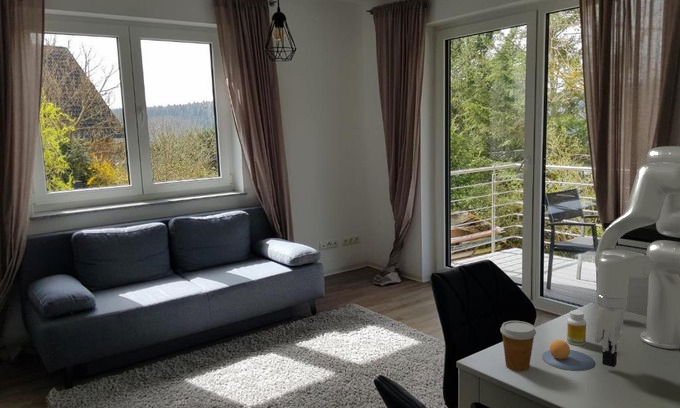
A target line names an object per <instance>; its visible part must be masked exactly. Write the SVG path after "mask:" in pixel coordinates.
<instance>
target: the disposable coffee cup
mask: <svg viewBox="0 0 680 408" xmlns="http://www.w3.org/2000/svg"><path fill="white" fill-rule="evenodd" d="M499 329H500V333H501V336H502V344H503V351H504V352H503V353H504V361H505V362H504V363H505V367H506V368H507V369H508V370H511V371H512V372H513V371H514V372H526V371H528V370H529V369H530V364H531V359H532V354H533V353H532V352H533V346H534V345H533V344H534V339H535V335H536V334H537V331H536V329H535V326H534V325H533V324H531V323H529V322H526V321H522V320H521V321H520V320H508V321H505V322H503V323H502V324H501V327H500V328H499Z"/></svg>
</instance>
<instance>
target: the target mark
mask: <svg viewBox="0 0 680 408" xmlns="http://www.w3.org/2000/svg"><path fill="white" fill-rule="evenodd" d="M541 359H542V360H543V361H544V362H545V363H546V364H547V365H549V366H551V367H554V368H557V369H560V370H564V371H573V372H574V371H575V372H577V371H578V372H579V371H587V370H590V369H592V368H593V367H594V366H595V364H596V363H595V360H594V358H592V356H590V355H588V354H586V353H584V352H581V351H578V350H574V349H570V354H569V356H568V357H567V358H565V359H561V360H560V359H556V358H555V357H553V356H552V355H551V353H550V349H549V350H546V351H544V352H543V353H542V356H541Z"/></svg>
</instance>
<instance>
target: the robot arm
mask: <svg viewBox="0 0 680 408" xmlns="http://www.w3.org/2000/svg"><path fill="white" fill-rule="evenodd" d="M654 224H655V226H656V227H655V228H656V231H657V232H658V233H659V234H661V235H663V236H667V237H674V238H680V146H674V145H673V146H672V145H670V146H669V145H668V146H658V147H654V148H653V147H652V148H651V149H650V150H648V152H647V153H646V163H645V164H642V165H641V166H640V167H639V168H638V169H637V171H636V175H635V177H634V181H633V185H632V187H631V191H630V194H629V198H628V202H627V205H626V208H625V211H624V213H623V214H622V215H620V216H619V217H617V218H616V219H615V220H614V221H612V222H611V223H610V224H609V225H608V226H607V227H606V228H605V230H604V231H603V232H602V234H601V236H600V238H599V242H598V244H597V249H596V251H595V256H594V257H595V258H594V263H595V268H596V269H597V273H596V274H597V275H596V276H597V277H596V278H597V279H596V301H595V302H596V304H595V305H596V306H597V307H598V310H597V315H596V316H597V317H596V324H595V327H596V328H595V338H594V340H595V341H594V342H595V343H597V344H598V343H601V341H602V349H601V350H602V362H601V364H602V365H604V366H607V367H611V368H615V367H616V366H617V358H618V357H617V356H618V342H619V341H620V340H621V338H622V336H623V333H624V332H623V331H624V312H625V310H627V309H628V302H629V301H628V299H629V282H638V281H643V280H645V279H647V278H648V286H647V287H648V290H647V291H648V292H647V307H646V308H647V309H646V330H644V331H642V332H641V333H640V336H639V337H640V340H641V341H642V342H644V343H645V344H648V345H650V346H653V347H656V348H660V349H669V350H680V241H675V240H674V241H673V240H665V239H663V240H660V239H659V240H655V241H653V242H651V243H650V244H649V245H648V246H647V249H646V253H643V252H642V253H641V252H636V251H630V250H626V249H618V248H615V247H616V245H617V243H618V241H619V240H620V239H621V237H623V236H624V235H625V234H626V233H627V234H628V233H629V232H631V231H634V230H636V229H639V228H644V227H647V226H650V225H654Z"/></svg>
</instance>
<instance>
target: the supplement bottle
mask: <svg viewBox="0 0 680 408" xmlns="http://www.w3.org/2000/svg"><path fill="white" fill-rule="evenodd" d="M584 316H585V313H584V312H583V311H580V310H570V312H569V317H568V318H567V321H566V343H567V344H570V345H573V346H583V345H586V339H587V338H586V337H587V336H586V335H587V321H586V319H584Z"/></svg>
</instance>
